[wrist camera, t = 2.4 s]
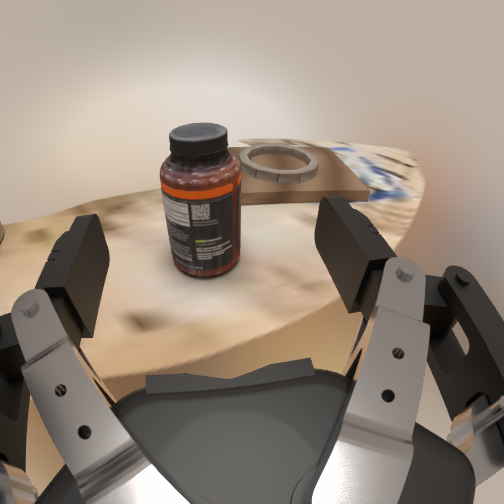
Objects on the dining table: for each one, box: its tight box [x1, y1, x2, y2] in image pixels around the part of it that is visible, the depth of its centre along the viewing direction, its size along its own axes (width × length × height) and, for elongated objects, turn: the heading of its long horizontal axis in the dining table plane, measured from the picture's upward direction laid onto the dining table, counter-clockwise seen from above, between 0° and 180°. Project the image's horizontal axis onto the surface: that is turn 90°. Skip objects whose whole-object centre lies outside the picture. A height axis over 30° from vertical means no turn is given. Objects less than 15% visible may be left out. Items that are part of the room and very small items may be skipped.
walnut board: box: [227, 144, 370, 205], centre depth 38 cm, size 20×14×3 cm
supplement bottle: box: [160, 123, 241, 277], centre depth 23 cm, size 6×6×11 cm
